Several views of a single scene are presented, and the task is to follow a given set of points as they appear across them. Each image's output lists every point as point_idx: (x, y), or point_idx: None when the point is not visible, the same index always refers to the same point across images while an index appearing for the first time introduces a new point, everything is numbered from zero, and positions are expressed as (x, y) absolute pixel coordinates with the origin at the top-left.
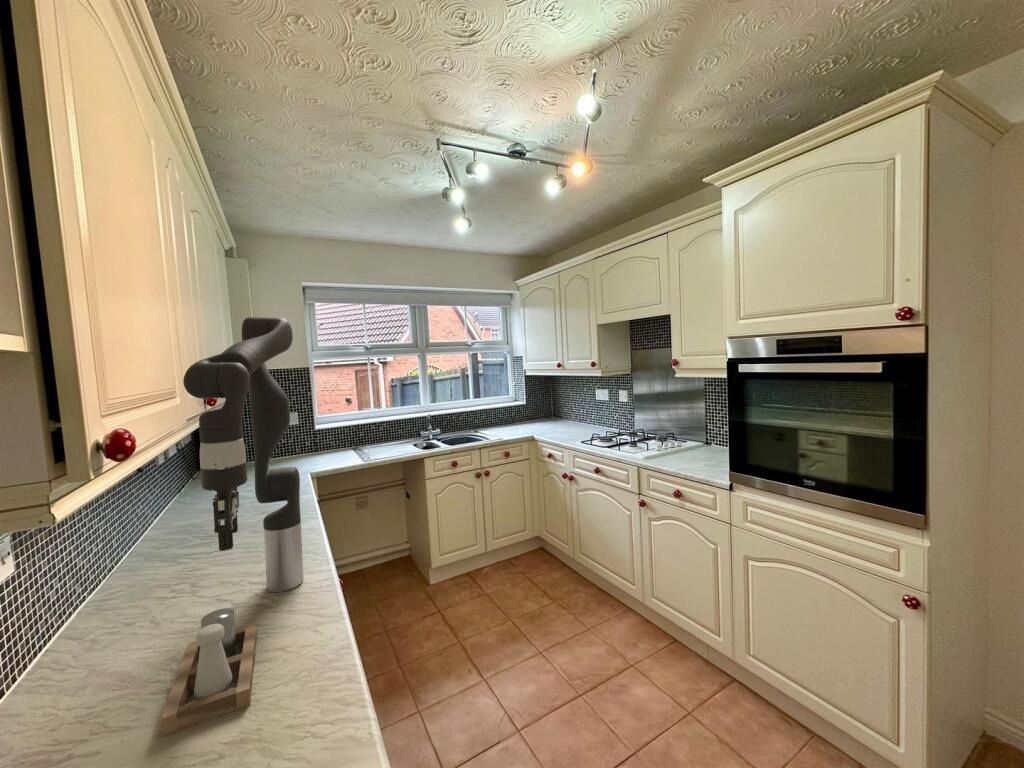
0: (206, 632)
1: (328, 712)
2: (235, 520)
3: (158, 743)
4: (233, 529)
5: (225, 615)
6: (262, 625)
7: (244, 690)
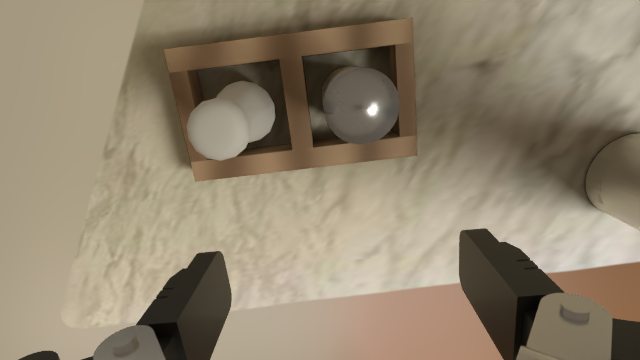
0: (196, 129)
1: (149, 279)
2: (491, 334)
3: (162, 49)
4: (466, 279)
5: (354, 126)
6: (452, 151)
7: (194, 174)
